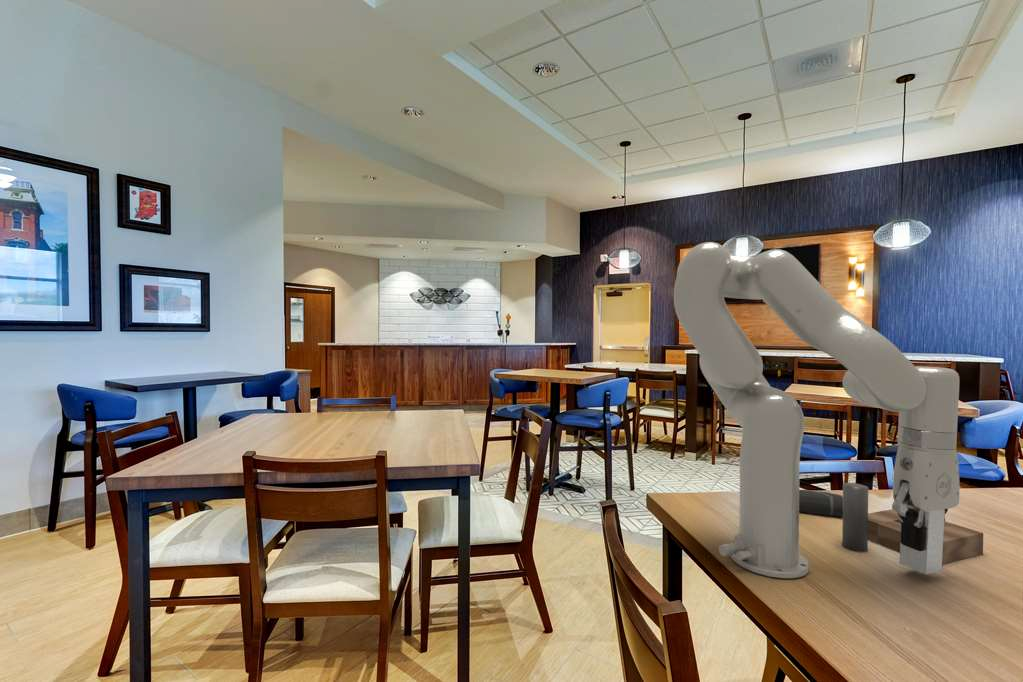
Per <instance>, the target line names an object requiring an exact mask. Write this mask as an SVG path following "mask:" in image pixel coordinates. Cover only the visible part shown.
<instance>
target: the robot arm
mask: <svg viewBox="0 0 1023 682" xmlns="http://www.w3.org/2000/svg"><path fill="white" fill-rule="evenodd" d="M676 270H677V271H676V277H675V280H674V281H675V282H674V287H673V304H674V310H675V311H674V312H675V314H676V316H677V319H678V321H679V323H680V325H681V326H682V328H683V330H684V332H685V333H686V335H687V337H688V338H689V340H690V342H691V343H692V345H693V347H694V348H695V350H696V351H697V354H699V368H700V370H701V373H702V375H703V376H704V378H705V379H706V381H707V383H708V385H710V387H711V389H712V390H713V392H714V393H715V394H716V396H717V398H718V399H719V401H720V402H721V404H722V405H723V406H724V408H725V409H726V411H727V412H728V414H729V415H730V417H731V418H732V420H734V422H735V423H737V425H739V426H740V427H741V428H742V435H741V442H740V443H741V444H740V449H739V451H740V452H739V520H738V521H739V527H738V528H739V530H738V531H739V532H738V533H736V534H734V540H733V541H732V542H731V543H724V544H720V545H719V546H718V552H719V554H720V555H721V556H722V557H730V558H731V559H732V560H733V562H734V563H735V564H737V565H739V567H742V568H743V569H745V570H747V571H750V572H751V573H752V572H753V573H756V574H758V575H762V576H766V577H771V578H775V579H776V578H777V579H778V578H779V579H796V578H797V579H798V578H802V577H805V576H806V575H807V574H808V573H809V570H810V564H809V563H810V562H809V561H808V559H806V557H805V556H803V554H801V553H800V550H799V549H800V546H799V545H800V512H799V490H800V461H801V460H800V459H801V450H802V449H801V448H802V443H803V442H802V441H803V438H804V432H805V416H804V412H803V409H802V407H801V405H800V403H798V400H796V399H795V398H794V397H793V396H792V395H791V394H790V393H788V392H786V391H784V390H782V389H779V388H777V387H774V386H773V387H772V386H771V385H770V383H769V382H768V381H767V379H766V378H765V376H764V374H763V371H764V370H763V369H764V364H763V363H764V362H763V360H762V356H761V354H760V352H759V351H758V349H757V348H756V347H755V346H754V344H753V343H752V342H751V340H750V339H749V337H748V336H747V335H746V333H745V332H744V331H743V329H742V327H741V326H740V325H739V323H738V322H737V321H736V319H735V317H734V316H733V314H732V312H731V311H730V309H729V307H728V305H727V303H726V300H725V298H729V299H739V300H740V299H742V300H762V301H763V302H764V303H765V304H766V305H767V306H768V308H769V309H771V310H772V311H773V313H774V314H775V315H776V316H777V317H778V318H779V319H780V320H781V321H782V322H783V323H784V324H785V326H786V327H787V328H788V329H789V330H790V331H791V332H792V334H793V335H794V336H795V337H796V338H798V339H799V340H801V341H803V343H805V344H807V345H808V346H810V347H812V348H813V349H816V350H818V351H820V352H822V353H823V354H826V355H828V356H830V357H832V358H833V360H835V361H837V362H839V364H841V365H843V367H844V368H845V369H847V370H846V372H845V373H844V376H843V378H842V387H843V390H844V392H845V393H846V394H847V395H848V397H850V398H851V399H852V400H854V401H856V402H858V403H860V404H862V405H866V406H870V407H874V408H879V409H882V410H885V411H890V412H895V413H898V424H897V425H898V426H897V428H898V429H897V445H898V447H897V451H896V457H895V462H894V468H893V469H894V470H893V476H892V478H893V479H892V497H893V498H892V499H893V502H892V505H891V509H893V510H895V511H896V512H897V513H898V515H899V516H900V518H899V520H900V521H901V544H902V545H905V546H907V547H910V548H912V549H915V550H917V551H923V550H924V535H925V528H924V527H921V526H922V522H923V516H924V511H925V512H928V511H936V510H943V509H945V511H944V523H945V521H946V514H947V512H949V510H950V509H953V508H956V507H957V506H958V505H959V504H960V472H959V471H960V468H959V467H960V466H959V459H958V454H957V442H958V441H957V436H958V418H959V415H958V414H959V399H960V398H959V397H960V376H959V375H960V374H959V373H958V372H957V371H956V370H955V369H952V368H948V367H938V366H936V367H935V366H922V365H919V366H918V365H916V366H915V365H914V363H912V362H911V361H910V360H909V359H908V358H907V357H906V355H905V354H904V353H903V352H902V350H900V349H899V348H898V347H897V346H896V345H895V344H893V343H892V342H891V340H889V339H888V338H887V337H885V336H884V335H883V334H881V333H880V332H879V331H878V330H876V329H874V328H873V327H872V326H870V325H869V324H867V323H866V322H865V321H863V320H861V318H859V317H857V316H856V315H855V314H854V313H851V312H850V311H849V310H847V309H845V308H844V307H843V306H842V305H841V303H839V302H838V301H837V300H836V299H835V298H834V297H833V295H832V294H831V293H829V291H828V290H827V289H826V288H825V287H824V286H822V284H821V283H820V282H819V280H817V279H816V278H815V277H814V276H813V275H812V274H811V272H809V270H808V269H807V268H806V267H805V266H804V265H803V264H802V263H801V262H800V261H799V260H798V259H797V258H796V257H795V256H794V255H793V254H791V253H790V252H788V251H786V250H783V249H778V248H777V249H776V248H775V249H769V250H765V251H763V252H760V253H759V254H757V255H754V256H741V255H740V256H738V255H731V254H730V252H729V251H728V249H727V248H725V246H724V245H721V244H720V243H717V242H713V241H707V242H701V243H699V244H697V245H695V246H694V247H692V248H690V249H689V250H688V252H687V253H686V254H685V255H684V257H683V258H682V259H681V260H680V262H679V264H678V266H677V269H676ZM909 501H910V502H913V504H914V506H913V505H910V504H909ZM909 509H912V510H915V511H916V514H915V515H914V514H913V513H912V512H911V511H909Z"/></svg>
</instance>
